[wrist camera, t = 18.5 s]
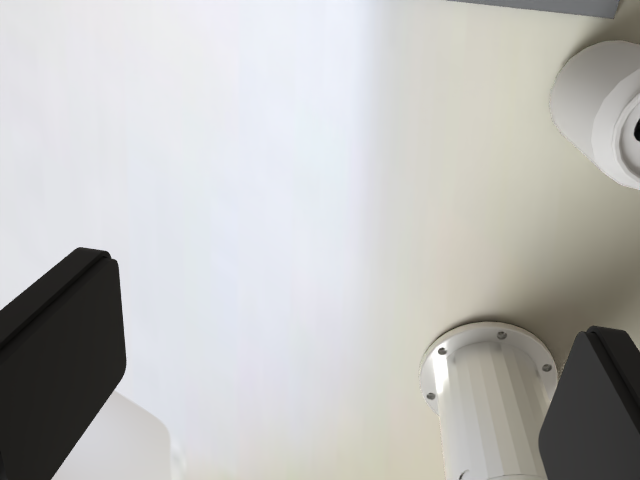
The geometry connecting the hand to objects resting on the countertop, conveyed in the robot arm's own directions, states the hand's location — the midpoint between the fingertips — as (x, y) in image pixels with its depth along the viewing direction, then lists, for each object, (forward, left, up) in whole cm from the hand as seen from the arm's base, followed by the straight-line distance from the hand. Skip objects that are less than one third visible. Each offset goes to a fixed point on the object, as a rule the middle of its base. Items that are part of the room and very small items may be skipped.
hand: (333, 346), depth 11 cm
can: (+1, -16, -33) cm, 37 cm away
